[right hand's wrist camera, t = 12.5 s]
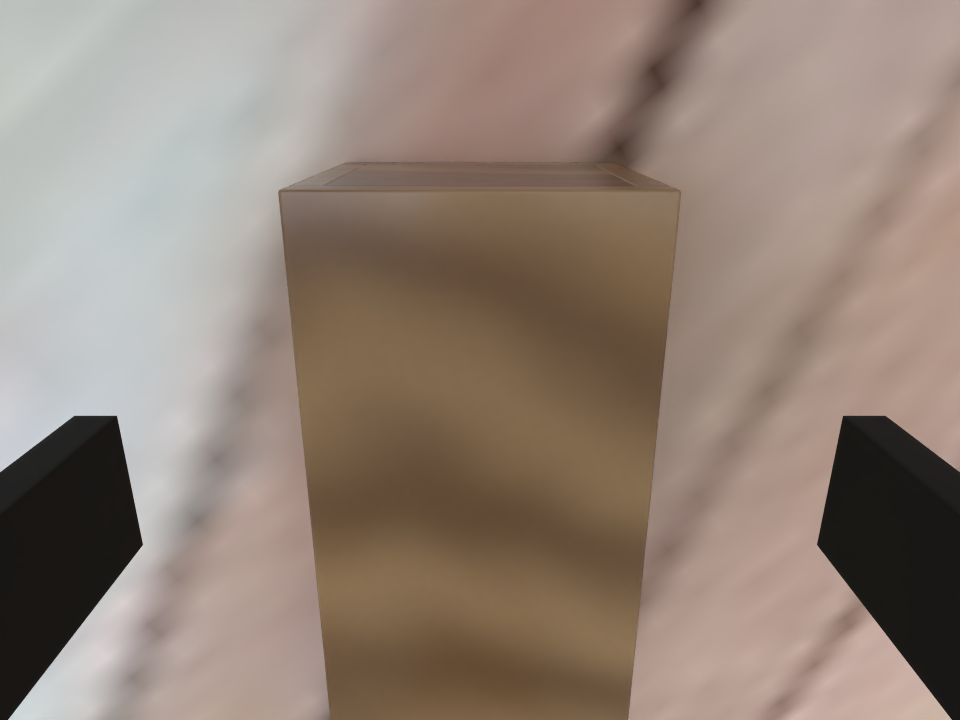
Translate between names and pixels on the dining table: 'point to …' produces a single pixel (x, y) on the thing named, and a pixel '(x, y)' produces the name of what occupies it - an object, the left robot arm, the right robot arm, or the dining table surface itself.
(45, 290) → the dining table surface
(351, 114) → the dining table surface
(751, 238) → the dining table surface
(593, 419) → the wooden recessed-top box
